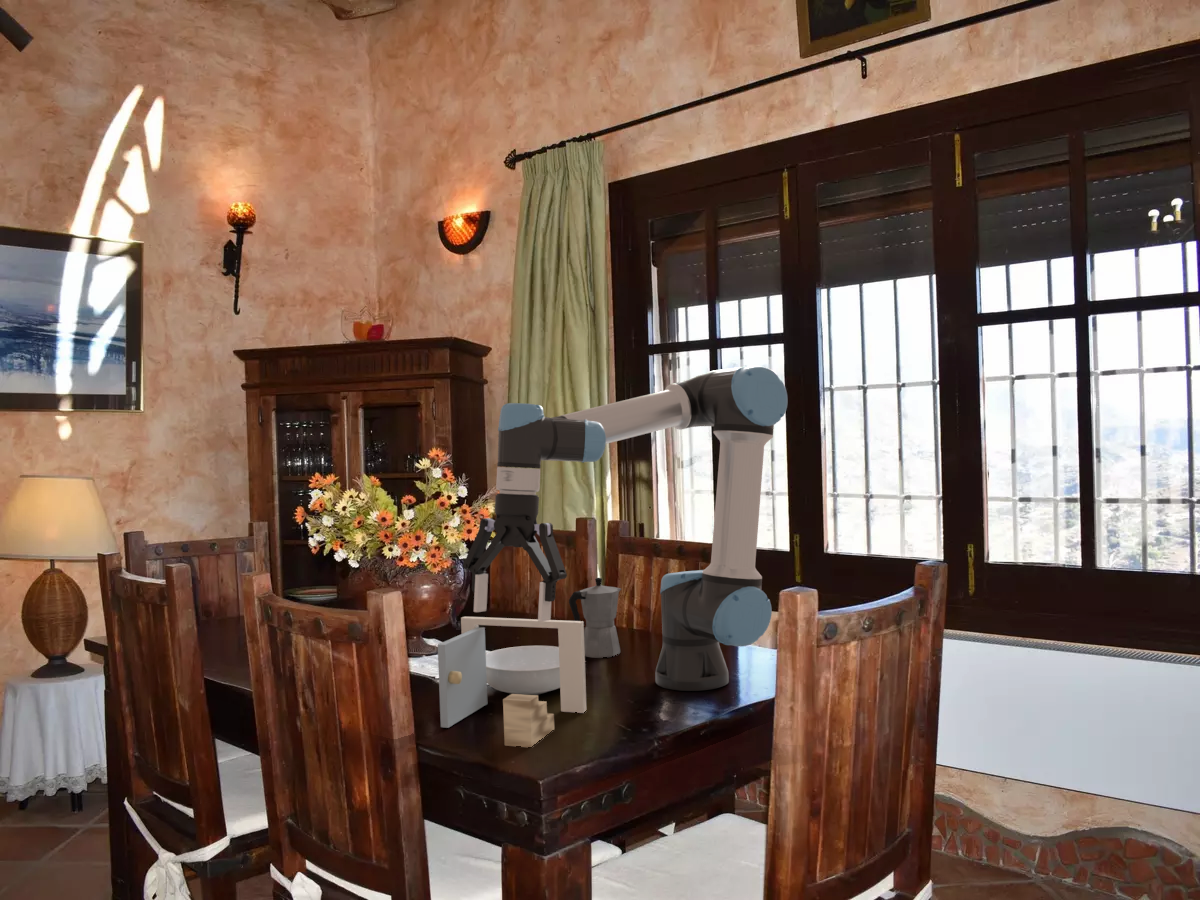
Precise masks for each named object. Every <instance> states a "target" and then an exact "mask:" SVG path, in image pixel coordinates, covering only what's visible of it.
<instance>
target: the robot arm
mask: <svg viewBox="0 0 1200 900" xmlns="http://www.w3.org/2000/svg"><path fill="white" fill-rule="evenodd" d="M787 408H788V392H787V388H786V386H785V383H784V381H783V380H782V379H781V378H780V377H779V375H778V374H777V373H776V372H775V371H774V370H773V369H770V368H768V367H766V366H761V365H743V366H739V367H731V368H725V369H724V368H723V369H716V370H711V371H708V372H705V373H702V374H699V375H696V376H693V377H691V378H688V379H685V380H681V381H678V382H674V383H670V384H668V385H667V386H666V387H665V389H664V390H661V391H657V392H653V393H648V394H645V395H640V396H636V397H632V398H629V399H628V398H627V399H625V400H624V399H623V400H620V401H616V402H612V403H611V402H610V403H608V404H602V405H598V406H595V407H590V408H586V409H583V410H582V409H581V410H579V411H574V412H570V413H569V412H568V413H566V414H565V413H564V414H561V415H558V416H554V417H548V416H545V414H544V408H543V406H542V405H540V404H533V403H525V402H524V403H522V402H521V403H520V402H519V403H517V402H510V403H505V404H504V405H502V406H501V408H500V414H499V420H498V426H497V427H498V428H497V431H498V434H497V436H498V439H497V444H498V445H497V463H496V465H497V466H496V481H495V483H496V485H495V488H496V490H498V491H499V493H496V495H495V499H494V512H495V515H496V516H495V517H496V518H495V519H493V518H492V517H491V518H489V517H486V518H484V517H483V518H481V519H480V521H479V529H478V531H477V534H476V535H475V538H474V540H473V542H472V544H471V547H470V549H469V551H468V553H467V555H466V558H465V560H464V561H463V564H462V568H463V570H468V571H470V572H471V575H472V576H471V591H472V592H473V594H474V596H473V598H474V599H473V612H474V613H481V612H487V604H488V584H489V573H487V571H486V570H487V569H488V568H489V566H490V565H491V564H492V562H493V561H494V560H495V559H496V557H497V556H498V555H499V553H500V552H501V551H502V550H503V548H505V547H515V548H522V549H523V550H524V551H525V552H527V554H528V556H529V558H530V559H531V561H532V563H533V565H534V566H535V568H536V569H537V571H538V572H539V574H540V576H541V577H542V579H543V580H542V581H539V590H538V592H539V595H538V613H537V619H538V621H541V622H542V621H547V620H552V619H551V618H552V617H551V616H552V602H555V600H556V593H557V592H556V590H557V589H556V588H557V582H558V581H560V580H564V579H566V578H567V577H568V573H567V571H566V568H565V566H564V562H563V560H562V557H561V554H560V551H559V548H558V546H557V542H556V539H555V537H554V526H553V524H552V522H540V523H538V522H537V517H538V515H539V505H540V502H539V501H540V497H539V495H538V494H537V493H538V492H539V491H540V489H541V487H540V486H541V485H540V483H541V466H542V465H541V464H542V461H550V462H551V461H554V462H555V461H556V462H558V461H559V462H575V463H576V462H578V463H580V462H581V463H583V464H584V463H595V462H597V461H599V460H600V459H601V458H602V457H603V454H604V453H605V449H606V445H607V444H611V443H614V442H618V441H622V440H626V439H630V438H635V437H638V436H643V435H645V434H646V435H647V434H650V433H654V432H658V431H662V430H665V429H670V428H675V429H677V430H681V431H682V430H685V429H689V428H694V427H695V428H696V427H713V432H712V433H713V434H714V435H715V437H716V438H717V440H719V443H720V444H719V456H718V457H719V458H718V468H717V469H718V471H717V483H716V492H715V493H716V495H715V507H714V508H715V509H714V519H713V532H712V533H713V534H712V545H711V559H710V564H709V565H708V566H707V567H705V569H699V570H688V571H679V572H671V573H670V572H669V573H666V574H664V575H663V576H662V578H661V582H660V591H659V593H660V605H661V624H662V625H661V627H662V628H661V630H662V632H661V633H662V648H661V651H660V654H659V658H658V662H657V665H656V668H655V684H656V685H657V686H659V687H661V688H662V689H663V688H664V689H667V690H673V691H674V690H675V691H683V692H691V691H692V692H694V691H695V692H698V691H701V692H702V691H709V690H715V689H718V688H722V687H724V686H726V685H728V684H729V682H730V681H729V670H728V667H727V663H726V660H725V658H724V654H723V652H722V649H721V646H720V644H723V645H725V646H734V647H746V646H747V647H748V646H750V645H752V644H755V643H756V642H757V641H759V639H760V638H761V637H762V636H763V635H764V634H765V633H766V632H767V630H768V627H769V626H770V623H771V619H772V612H773V611H772V609H773V608H772V604H771V600H770V599H769V598H768V596H767V594H766V593H765V592H764V590H762V585H763V583H762V582H763V576H762V575H761V574H760V572H759V571H758V570H757V568H756V558H757V545H758V533H759V532H758V530H759V520H760V519H759V517H760V505H761V494H762V492H761V491H762V483H763V482H762V481H763V467H764V456H765V455H764V453H765V446H766V444H767V443H768V442H769V441H771V439H773V438H774V428H775V427H774V425H776V424H777V423H778V422H780V421H781V420H782V419H781V418H782V417H784V416H785V414H786V411H787V410H788V409H787ZM494 530H495V533H496V534H495V535H494V536H493V538H492V539H491V536H492V534H493V532H494ZM536 534H537V535H538V536H539V540H540V543H541V546H542V548H541V547H540V543H539V541H538V539H537V538H536V536H535V535H536ZM490 539H491V541H490ZM489 541H490V544H489ZM488 544H489V545H488ZM542 549H543V551H542Z"/></svg>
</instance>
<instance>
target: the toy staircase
mask: <svg viewBox="0 0 1200 900" xmlns="http://www.w3.org/2000/svg"><path fill="white" fill-rule="evenodd" d="M547 705H548V703H547V701H544V700H543V701H542V700H539V695H538V694H537V695H522V694H512V693H510V694H509V695H507V696H506V697H504V698H503V699H502V706H503V733H504V734H503V735H504V738H503V740H504V746H506V747H507V746H509V747H516V746H521V747H520V748H528V747H532V746H533V745H534V744H536V743H537V742H538V741H539V740H541V739H542V738H543V739H545V738H546V737H547V736H548V735H547V734H549V733H550V732H551V731H552V730H554V731H555V714H554V713H549V712H548V706H547ZM552 732H553V731H552ZM552 732H551V733H552ZM551 733H550V734H551ZM550 734H549V735H550ZM546 735H547V736H546ZM545 736H546V737H545ZM544 737H545V738H544ZM543 739H542V740H543ZM542 740H541V741H542ZM538 743H539V742H538ZM538 743H537V744H538ZM537 744H536V745H537ZM533 747H534V746H533ZM533 747H532V748H533Z"/></svg>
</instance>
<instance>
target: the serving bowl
mask: <svg viewBox="0 0 1200 900" xmlns="http://www.w3.org/2000/svg"><path fill="white" fill-rule="evenodd" d="M486 676H487V686H490V687H491V688H493V689H494V690H497V691H498V692H504V693H507V694H522V695H537V696H538V695H541V694H542V695H543V694H545V693H548V692H551V691H555V690H559V689H560V667H559V646H554V645H521V646H513V647H506V648H505V647H504V648H501V649H500V648H499V649H495V650H492V651H489V652H486Z"/></svg>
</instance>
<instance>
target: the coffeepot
mask: <svg viewBox="0 0 1200 900" xmlns="http://www.w3.org/2000/svg"><path fill="white" fill-rule="evenodd" d="M594 580H595V585H594V586H590V587H587V588H584V589H581V590H576V591H574V592H573V593H572V594H571V595H570V597H569V599H568V603H569V607H570V610H571V613H572V616H573V618H574V621H581V620H580V619H581V618H580V613H579V609H578V604H577V603H576V602H577V601H578V600H580V603H581V608H582V613H583V619H585V621H584V625H585V624H586V625H585V627H584V650H585V658H586V657H587V658H593V659H603V657H607V658H612V656H613V657H615V655H616V656H618V655H620V653H621V652H622V651H621V646H620V643H619V642H620V641H619V637H618V632H617V627H616V625H615V619H616V618H617V610H618V604H619V592H620V591H622V588H620V587H615V586H607V585H602V583H603V582H602V581H603V578H601V577H596V578H594ZM617 654H618V655H617Z"/></svg>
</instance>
